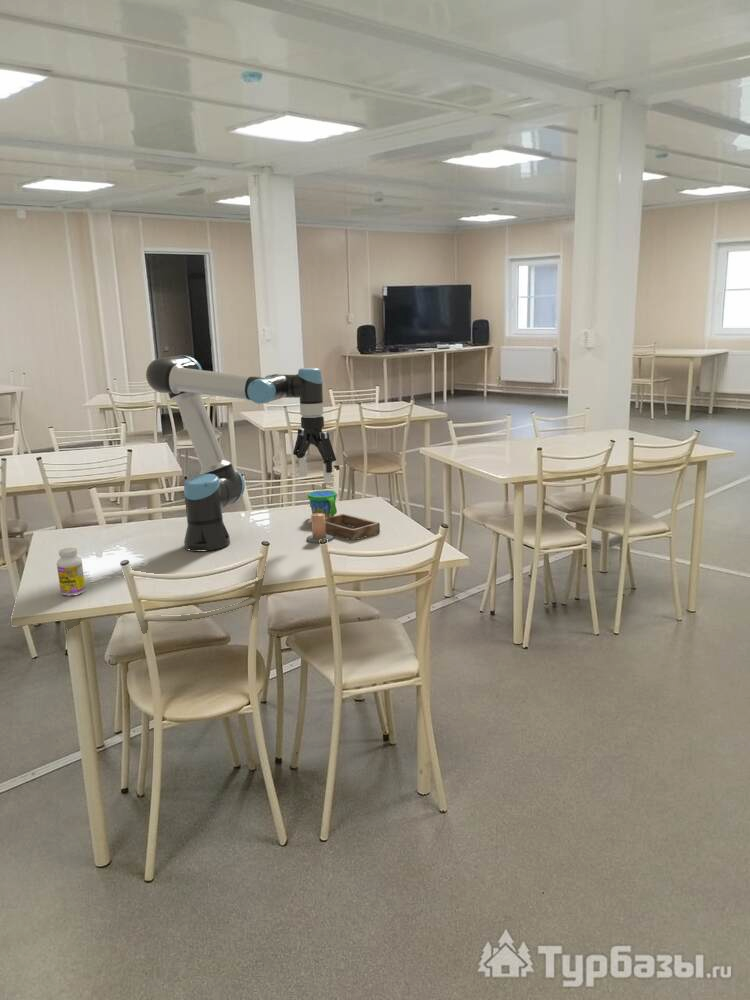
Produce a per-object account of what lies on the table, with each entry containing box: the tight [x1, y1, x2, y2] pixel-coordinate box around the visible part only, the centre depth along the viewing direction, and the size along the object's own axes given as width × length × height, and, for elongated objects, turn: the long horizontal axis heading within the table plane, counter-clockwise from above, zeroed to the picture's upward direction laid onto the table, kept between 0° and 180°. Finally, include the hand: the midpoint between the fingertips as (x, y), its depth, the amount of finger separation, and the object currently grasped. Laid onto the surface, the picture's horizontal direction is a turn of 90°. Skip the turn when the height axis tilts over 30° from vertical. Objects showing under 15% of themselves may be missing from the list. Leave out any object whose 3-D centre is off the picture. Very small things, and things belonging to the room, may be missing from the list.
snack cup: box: [307, 489, 338, 518], centre depth 284 cm, size 16×11×10 cm
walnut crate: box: [325, 513, 381, 541], centre depth 269 cm, size 12×20×4 cm, turn 42°
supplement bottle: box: [56, 547, 86, 596], centre depth 218 cm, size 7×7×13 cm
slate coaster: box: [306, 533, 334, 544], centre depth 261 cm, size 9×9×1 cm
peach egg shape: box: [310, 513, 327, 539], centre depth 260 cm, size 5×5×8 cm
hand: (315, 479), depth 256 cm, fingers open, 13 cm apart
